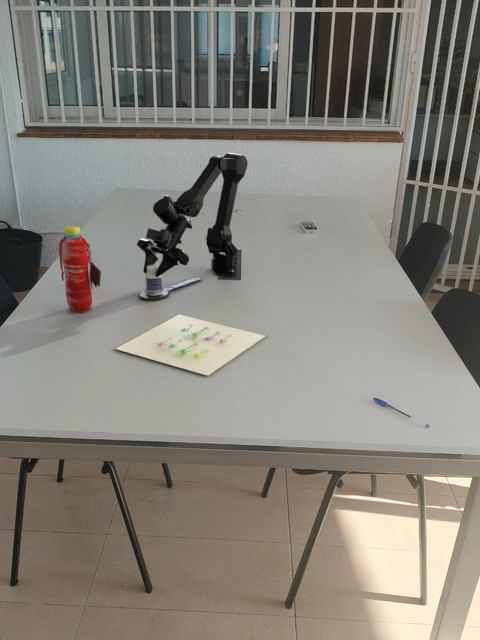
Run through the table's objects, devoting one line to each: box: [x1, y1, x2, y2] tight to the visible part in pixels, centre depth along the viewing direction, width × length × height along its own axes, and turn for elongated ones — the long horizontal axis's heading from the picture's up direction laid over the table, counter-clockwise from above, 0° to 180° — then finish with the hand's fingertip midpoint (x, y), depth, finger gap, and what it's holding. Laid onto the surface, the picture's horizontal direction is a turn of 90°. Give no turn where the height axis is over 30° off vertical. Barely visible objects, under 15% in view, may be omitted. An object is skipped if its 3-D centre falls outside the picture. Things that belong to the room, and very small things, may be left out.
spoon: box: [139, 277, 201, 302], centre depth 232 cm, size 26×8×1 cm, turn 139°
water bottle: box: [58, 226, 102, 313], centre depth 210 cm, size 12×8×25 cm, turn 94°
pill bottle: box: [144, 264, 164, 296], centre depth 224 cm, size 5×5×9 cm
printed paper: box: [115, 314, 266, 377], centre depth 194 cm, size 30×30×2 cm
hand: (150, 274), depth 222 cm, fingers closed on pill bottle, 5 cm apart
